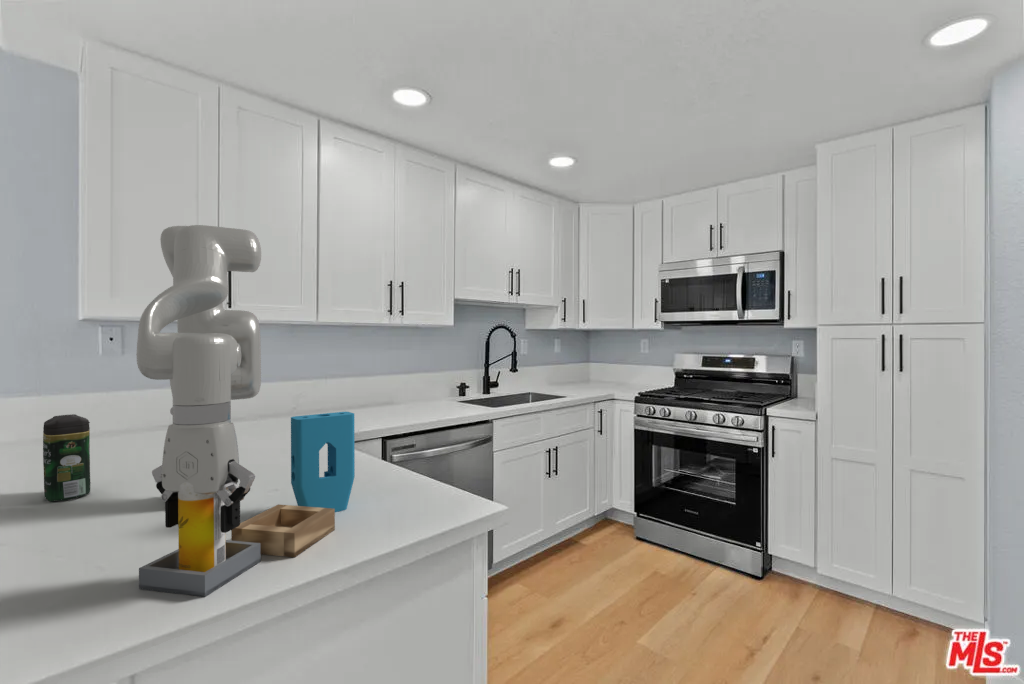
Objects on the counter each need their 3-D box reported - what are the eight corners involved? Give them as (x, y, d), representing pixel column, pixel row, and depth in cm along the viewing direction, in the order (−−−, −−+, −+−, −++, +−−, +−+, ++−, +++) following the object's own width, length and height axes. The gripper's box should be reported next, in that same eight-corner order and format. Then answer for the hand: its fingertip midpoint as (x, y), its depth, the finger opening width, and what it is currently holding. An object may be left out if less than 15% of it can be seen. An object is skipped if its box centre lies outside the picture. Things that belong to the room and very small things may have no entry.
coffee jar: (41, 495, 113) (41, 415, 113) (87, 488, 119) (86, 411, 119) (45, 505, 107) (44, 419, 107) (93, 496, 113) (92, 415, 112)
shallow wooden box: (231, 551, 84) (231, 527, 84) (278, 525, 95) (278, 504, 95) (294, 557, 81) (294, 533, 81) (334, 529, 93) (334, 508, 93)
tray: (139, 588, 71) (138, 568, 71) (201, 555, 82) (201, 537, 82) (205, 596, 69) (204, 575, 69) (260, 561, 80) (260, 543, 80)
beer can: (193, 562, 78) (192, 467, 78) (233, 560, 79) (232, 466, 79) (169, 581, 72) (168, 478, 72) (213, 579, 73) (212, 477, 72)
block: (297, 520, 98) (297, 419, 98) (289, 514, 101) (289, 416, 101) (356, 507, 105) (355, 413, 105) (347, 501, 109) (346, 411, 109)
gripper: (132, 417, 73) (132, 532, 73) (233, 420, 70) (233, 541, 70) (175, 409, 81) (176, 514, 81) (269, 413, 77) (269, 522, 77)
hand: (203, 526), depth 75 cm, fingers open, 9 cm apart
